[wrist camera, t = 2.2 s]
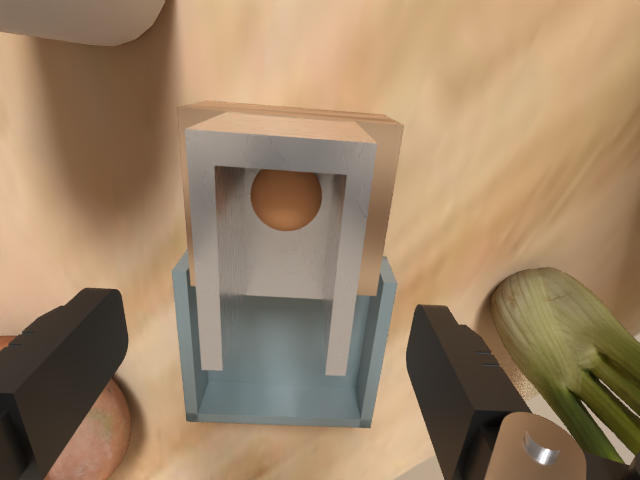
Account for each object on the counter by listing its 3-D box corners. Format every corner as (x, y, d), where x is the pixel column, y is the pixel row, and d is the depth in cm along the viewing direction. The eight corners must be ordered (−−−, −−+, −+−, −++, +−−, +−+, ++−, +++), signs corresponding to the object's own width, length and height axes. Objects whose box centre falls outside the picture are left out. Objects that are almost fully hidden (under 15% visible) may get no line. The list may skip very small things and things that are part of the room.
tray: (190, 245, 24) (171, 270, 21) (386, 256, 25) (397, 283, 21) (200, 383, 29) (186, 421, 26) (363, 389, 30) (370, 427, 26)
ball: (256, 150, 16) (244, 165, 13) (323, 155, 16) (326, 171, 14) (255, 214, 17) (244, 240, 15) (318, 218, 18) (320, 244, 15)
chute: (228, 111, 16) (184, 129, 11) (355, 121, 16) (377, 143, 11) (232, 288, 20) (201, 369, 14) (336, 293, 20) (345, 375, 14)
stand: (206, 100, 20) (177, 107, 16) (383, 114, 21) (403, 125, 16) (213, 246, 24) (190, 286, 20) (364, 255, 25) (376, 296, 20)
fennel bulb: (492, 333, 28) (612, 502, 17) (464, 287, 26) (577, 441, 15) (567, 295, 26) (750, 451, 15) (543, 244, 25) (729, 378, 14)
